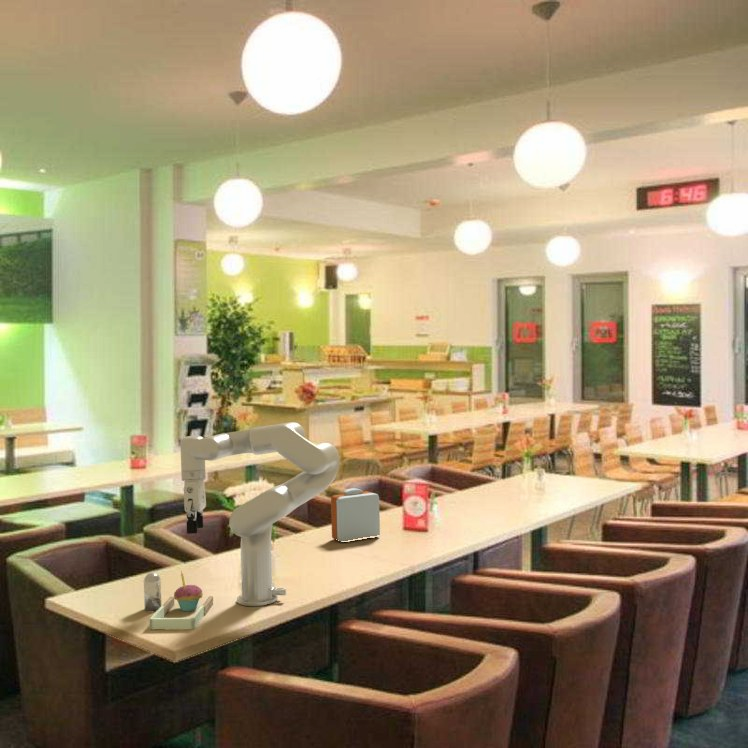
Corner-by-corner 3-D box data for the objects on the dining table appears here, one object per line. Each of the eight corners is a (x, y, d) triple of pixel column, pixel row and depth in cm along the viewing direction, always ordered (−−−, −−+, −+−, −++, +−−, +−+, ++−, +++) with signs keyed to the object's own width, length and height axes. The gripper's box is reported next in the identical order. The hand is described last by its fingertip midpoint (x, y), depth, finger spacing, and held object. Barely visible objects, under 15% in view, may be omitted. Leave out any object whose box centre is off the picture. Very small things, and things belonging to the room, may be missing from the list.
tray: (204, 615, 247) (203, 605, 247) (194, 629, 235) (194, 618, 235) (161, 615, 248) (161, 606, 248) (149, 629, 236) (149, 619, 236)
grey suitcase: (370, 534, 350) (369, 485, 350) (380, 537, 343) (379, 488, 342) (331, 539, 341) (330, 490, 340) (341, 544, 333) (339, 493, 333)
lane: (213, 604, 258) (213, 596, 258) (205, 615, 247) (205, 607, 247) (170, 604, 258) (170, 596, 258) (160, 616, 248) (160, 607, 248)
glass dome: (163, 606, 257) (162, 570, 257) (158, 611, 252) (157, 575, 252) (147, 606, 257) (146, 570, 257) (142, 611, 252) (141, 575, 252)
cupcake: (180, 614, 248) (179, 575, 248) (169, 608, 255) (168, 569, 255) (207, 609, 253) (206, 570, 253) (196, 602, 260) (194, 564, 260)
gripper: (198, 479, 255) (200, 536, 256) (211, 470, 273) (212, 524, 273) (174, 479, 255) (176, 537, 256) (188, 471, 273) (190, 524, 273)
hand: (195, 530), depth 265 cm, fingers open, 7 cm apart
